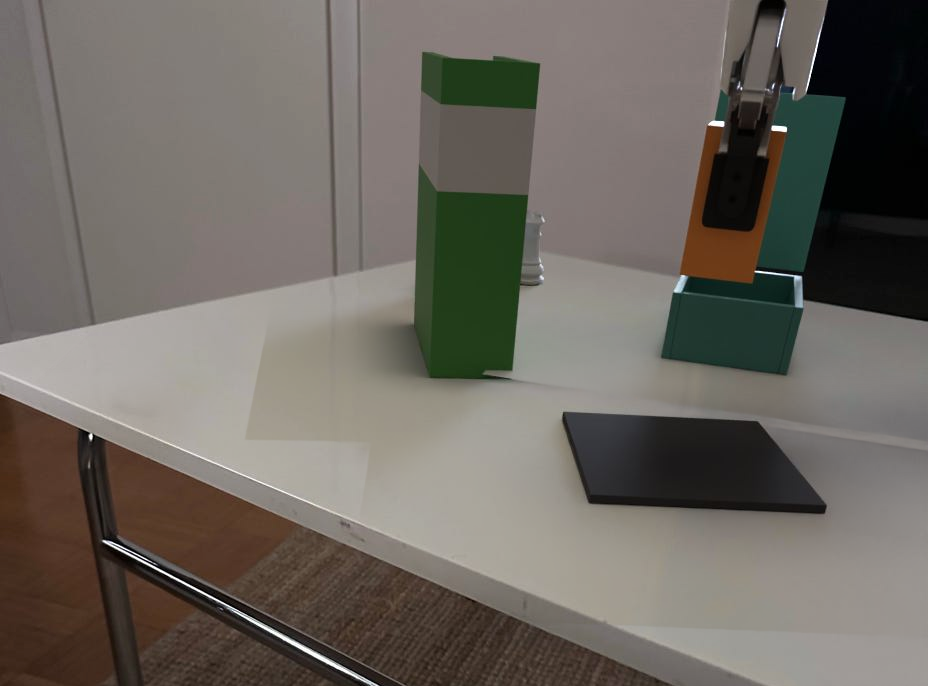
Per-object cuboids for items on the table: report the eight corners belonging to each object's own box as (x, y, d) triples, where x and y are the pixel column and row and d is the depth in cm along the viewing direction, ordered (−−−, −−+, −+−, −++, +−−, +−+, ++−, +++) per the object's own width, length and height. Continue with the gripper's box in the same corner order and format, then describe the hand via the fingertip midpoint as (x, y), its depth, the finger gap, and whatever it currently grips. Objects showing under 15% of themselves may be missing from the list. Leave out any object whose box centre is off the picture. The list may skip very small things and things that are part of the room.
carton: (752, 283, 58) (786, 131, 54) (679, 274, 59) (706, 125, 55) (754, 270, 62) (786, 126, 57) (685, 262, 63) (712, 120, 58)
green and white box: (413, 323, 96) (422, 51, 83) (483, 325, 97) (503, 56, 84) (429, 377, 81) (442, 57, 68) (511, 378, 82) (540, 63, 69)
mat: (756, 427, 75) (758, 420, 75) (825, 513, 62) (827, 505, 61) (561, 418, 75) (562, 411, 74) (589, 502, 61) (590, 494, 61)
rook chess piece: (504, 277, 117) (510, 208, 112) (538, 277, 118) (545, 209, 113) (512, 285, 113) (518, 214, 109) (547, 285, 114) (555, 215, 110)
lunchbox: (784, 383, 86) (804, 308, 82) (659, 365, 88) (672, 292, 84) (785, 343, 97) (802, 276, 94) (674, 329, 100) (687, 262, 96)
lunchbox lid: (846, 97, 87) (845, 98, 87) (720, 88, 89) (721, 89, 90) (803, 272, 93) (803, 271, 94) (687, 258, 96) (688, 258, 96)
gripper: (895, -180, 41) (789, 252, 51) (869, -121, 55) (789, 211, 65) (725, -182, 43) (655, 236, 53) (740, -125, 57) (682, 199, 67)
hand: (729, 219), depth 59 cm, fingers closed on carton, 4 cm apart
